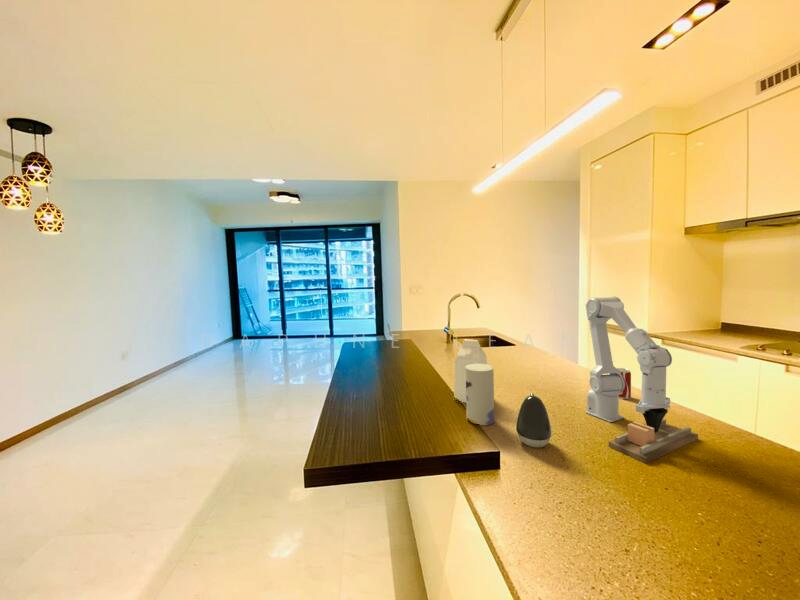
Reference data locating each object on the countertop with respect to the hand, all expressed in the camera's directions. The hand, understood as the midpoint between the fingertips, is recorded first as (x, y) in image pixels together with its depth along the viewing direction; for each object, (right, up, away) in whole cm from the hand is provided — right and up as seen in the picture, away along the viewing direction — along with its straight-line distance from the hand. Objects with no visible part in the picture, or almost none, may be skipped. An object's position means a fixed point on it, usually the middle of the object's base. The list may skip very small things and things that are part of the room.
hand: (652, 430), depth 95 cm
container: (-48, -5, +20) cm, 52 cm away
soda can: (+17, -1, +37) cm, 40 cm away
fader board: (+1, -4, 0) cm, 4 cm away
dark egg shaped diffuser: (-35, -5, +3) cm, 36 cm away
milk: (-46, -3, +41) cm, 62 cm away
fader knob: (-6, -2, -3) cm, 7 cm away
